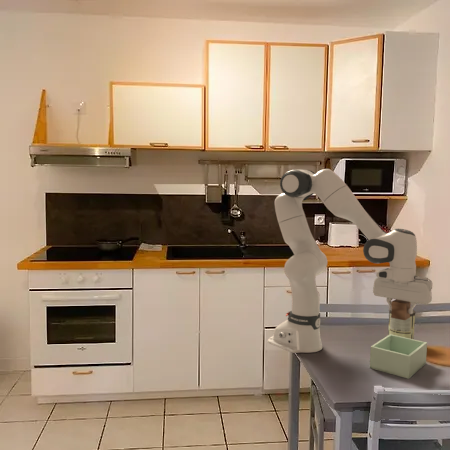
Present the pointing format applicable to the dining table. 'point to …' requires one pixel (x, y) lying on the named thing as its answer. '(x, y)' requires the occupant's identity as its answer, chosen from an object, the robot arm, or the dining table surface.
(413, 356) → the bin
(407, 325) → the coffee can
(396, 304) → the block
